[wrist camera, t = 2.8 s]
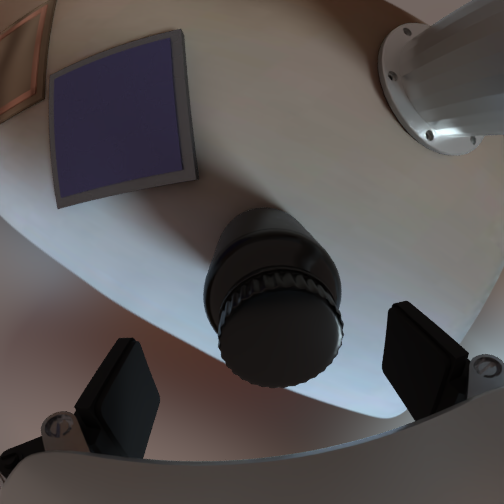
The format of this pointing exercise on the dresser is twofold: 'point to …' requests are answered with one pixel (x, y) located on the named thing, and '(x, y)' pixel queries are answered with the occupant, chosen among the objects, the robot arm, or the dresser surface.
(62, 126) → the ink pad
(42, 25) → the marked board
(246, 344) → the supplement bottle
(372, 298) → the dresser surface
